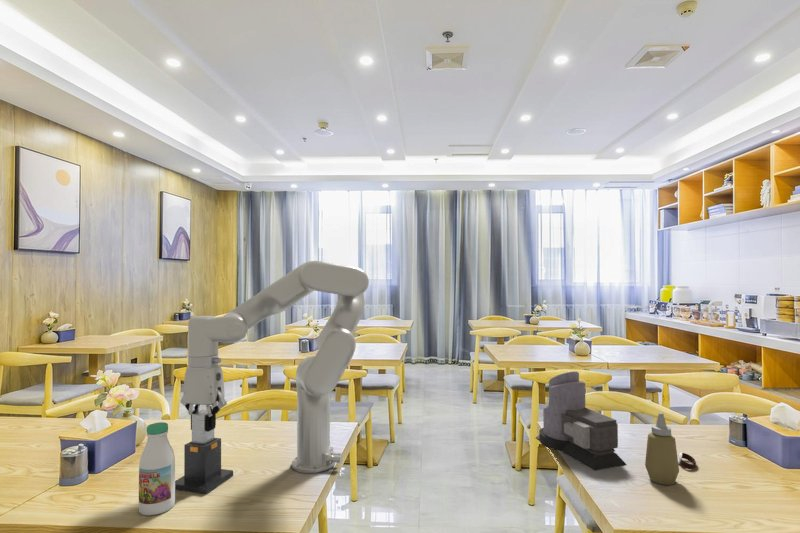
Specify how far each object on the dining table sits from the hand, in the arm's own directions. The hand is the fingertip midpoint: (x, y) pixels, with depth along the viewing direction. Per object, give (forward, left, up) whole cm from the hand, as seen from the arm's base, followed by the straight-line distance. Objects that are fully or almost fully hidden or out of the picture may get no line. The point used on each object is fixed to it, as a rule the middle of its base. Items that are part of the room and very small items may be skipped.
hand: (203, 428), depth 123 cm
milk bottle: (+2, +14, -15) cm, 21 cm away
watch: (-130, -45, -15) cm, 138 cm away
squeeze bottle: (-120, -32, -15) cm, 125 cm away
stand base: (0, 0, -14) cm, 14 cm away
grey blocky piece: (-100, -50, -15) cm, 113 cm away
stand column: (0, 0, -13) cm, 13 cm away
